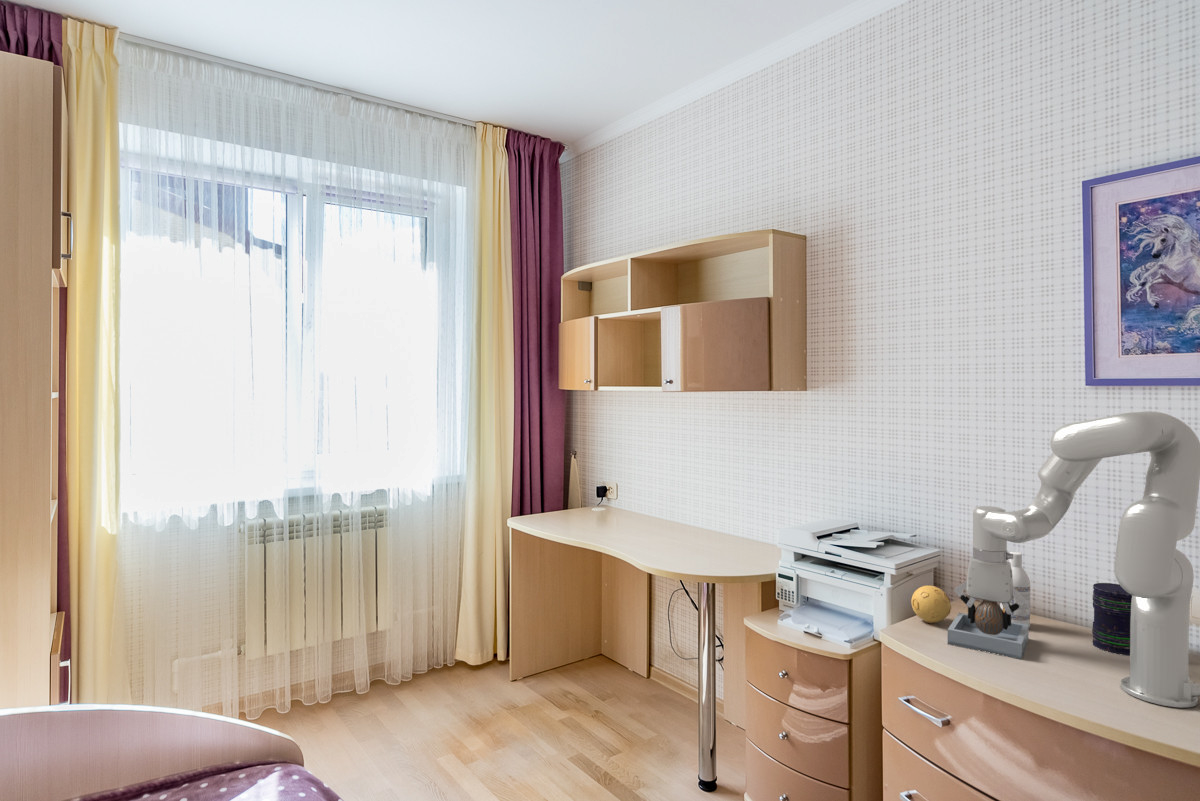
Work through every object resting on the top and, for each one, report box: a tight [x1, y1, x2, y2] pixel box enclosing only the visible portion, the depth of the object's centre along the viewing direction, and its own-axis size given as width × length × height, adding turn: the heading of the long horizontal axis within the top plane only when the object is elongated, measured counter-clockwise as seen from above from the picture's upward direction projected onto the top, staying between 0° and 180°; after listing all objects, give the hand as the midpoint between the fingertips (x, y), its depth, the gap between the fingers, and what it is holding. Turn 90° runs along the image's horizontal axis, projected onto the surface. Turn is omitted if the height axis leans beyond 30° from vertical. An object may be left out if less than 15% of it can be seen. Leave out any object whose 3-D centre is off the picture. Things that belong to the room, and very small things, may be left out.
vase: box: [974, 600, 1004, 635], centre depth 171 cm, size 7×7×9 cm
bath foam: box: [999, 551, 1031, 628], centre depth 183 cm, size 7×7×20 cm
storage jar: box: [1091, 582, 1132, 656], centre depth 168 cm, size 10×10×15 cm
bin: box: [947, 612, 1030, 661], centre depth 172 cm, size 16×16×4 cm
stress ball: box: [910, 585, 952, 624], centre depth 186 cm, size 10×10×10 cm
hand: (989, 624), depth 172 cm, fingers closed on vase, 6 cm apart
